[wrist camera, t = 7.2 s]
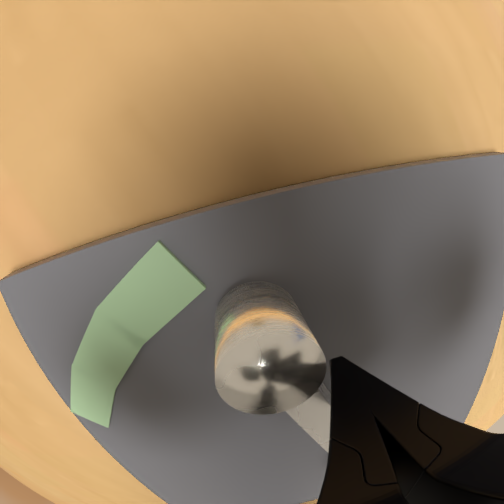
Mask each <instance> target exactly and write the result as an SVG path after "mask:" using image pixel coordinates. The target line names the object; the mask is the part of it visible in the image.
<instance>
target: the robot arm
mask: <svg viewBox="0 0 504 504" xmlns="http://www.w3.org/2000/svg"><path fill="white" fill-rule="evenodd" d="M329 364H330V377H331V408H330V437H329V439H330V440H329V451H328V460H327V467H326V472H325V476H324V480H323V484H322V487H321V491H320V494H319V498H318V501H317V504H504V434H497V433H490V432H486V431H483V430H480V429H478V428H475V427H472V426H469V425H467V424H464V423H461V422H459V421H456V420H454V419H451V418H449V417H447V416H444V415H442V414H440V413H438V412H436V411H434V410H432V409H430V408H428V407H427V406H425V405H423V404H421V403H420V404H419V402H418V401H416V400H414V399H413V398H411V397H409V396H407V395H406V394H404V393H402V392H401V391H399V390H397V389H395V388H394V387H392V386H390V385H389V384H387V383H385V382H384V381H382V380H380V379H379V378H377V377H375V376H374V375H372V374H371V373H369V372H367V371H366V370H364V369H362V368H361V367H359V366H357V365H356V364H354V363H353V362H351V361H349V360H348V359H346V358H345V357H343V356H339V357H335V358H332V359H330V361H329Z"/></svg>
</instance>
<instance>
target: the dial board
mask: <svg viewBox="0 0 504 504" xmlns="http://www.w3.org/2000/svg"><path fill="white" fill-rule="evenodd" d="M250 282H268V283H272V284H275V285H278V286H280V287H281V288H283V289H284V290H286V291H287V292H288V293H289V294H290V295H291V297H292V298H293V300H294V301H295V303H296V305H297V307H298V309H299V310H300V312H301V314H302V316H303V317H304V319H305V321H306V323H307V325H308V326H309V328H310V330H311V332H312V334H313V335H314V337H315V339H316V341H317V342H318V344H319V346H320V348H321V350H322V352H323V354H324V356H325V359H326V365H327V368H326V374H325V378H324V380H323V383H324V385H325V386H326V388H327V389H328V391H329V392H330V393H331V377H330V364H329V361H330V359H332V358H335V357H339V356H343V357H345V358H346V359H348V360H349V361H351V362H353V363H354V364H356V365H357V366H359V367H361V368H362V369H364V370H366V371H367V372H369V373H371V374H372V375H374V376H375V377H377V378H379V379H380V380H382V381H384V382H385V383H387V384H389V385H390V386H392V387H394V388H395V389H397V390H399V391H401V392H402V393H404V394H406V395H407V396H409V397H411V398H413V399H414V400H416V401H418V402H419V404H420V403H421V404H423V405H425V406H427V407H428V408H430V409H432V410H434V411H436V412H438V413H440V414H442V415H444V416H447V417H449V418H451V419H454V420H456V421H459V422H461V423H464V422H465V420H466V418H467V416H468V414H469V411H470V409H471V407H472V405H473V403H474V400H475V398H476V396H477V393H478V391H479V388H480V386H481V383H482V381H483V378H484V376H485V373H486V370H487V367H488V364H489V361H490V358H491V355H492V352H493V349H494V346H495V342H496V339H497V335H498V332H499V328H500V324H501V320H502V315H503V311H504V153H500V152H492V153H481V154H472V155H463V156H455V157H447V158H439V159H432V160H425V161H418V162H411V163H405V164H399V165H392V166H386V167H381V168H375V169H369V170H364V171H358V172H353V173H348V174H343V175H338V176H333V177H328V178H323V179H318V180H314V181H309V182H304V183H300V184H295V185H291V186H286V187H282V188H278V189H274V190H269V191H265V192H261V193H257V194H253V195H249V196H245V197H241V198H237V199H233V200H229V201H226V202H222V203H218V204H214V205H211V206H207V207H203V208H200V209H196V210H193V211H189V212H186V213H182V214H179V215H175V216H172V217H168V218H165V219H162V220H158V221H155V222H152V223H149V224H145V225H142V226H139V227H136V228H133V229H130V230H126V231H123V232H120V233H117V234H114V235H111V236H108V237H105V238H102V239H99V240H96V241H94V242H91V243H88V244H85V245H82V246H79V247H76V248H74V249H71V250H68V251H65V252H63V253H60V254H57V255H55V256H52V257H49V258H47V259H44V260H42V261H39V262H36V263H34V264H31V265H29V266H26V267H24V268H21V269H19V270H17V271H14V272H12V273H10V274H9V275H7V276H6V277H4V278H3V279H1V280H0V291H1V293H2V296H3V298H4V300H5V302H6V305H7V307H8V309H9V311H10V313H11V315H12V317H13V320H14V322H15V324H16V326H17V327H18V329H19V331H20V333H21V335H22V337H23V339H24V341H25V342H26V344H27V346H28V348H29V349H30V351H31V353H32V355H33V356H34V358H35V360H36V361H37V363H38V364H39V366H40V368H41V369H42V371H43V372H44V374H45V375H46V377H47V378H48V380H49V381H50V383H51V384H52V386H53V387H54V388H55V390H56V391H57V393H58V394H59V395H60V397H61V398H62V399H63V401H64V402H65V403H66V405H67V406H68V407H69V408H70V410H71V412H73V414H74V415H75V416H76V417H77V418H78V420H79V421H80V422H81V423H82V424H83V426H84V427H85V428H86V429H87V430H88V431H89V432H90V434H91V435H92V436H93V437H94V438H95V439H96V440H97V441H98V442H99V443H100V444H101V445H102V446H103V447H104V449H105V450H106V451H107V452H108V453H109V454H110V455H111V456H112V457H113V458H114V459H115V460H117V461H118V462H119V463H120V464H121V465H122V466H123V467H124V468H125V469H126V470H127V471H128V472H129V473H131V474H132V475H133V476H134V477H135V478H136V479H137V480H139V481H140V482H141V483H142V484H143V485H145V486H146V487H147V488H148V489H150V490H151V491H152V492H153V493H155V494H156V495H157V496H158V497H160V498H161V499H162V500H164V501H165V502H166V503H168V504H300V503H304V502H308V501H311V500H315V499H318V498H319V494H320V491H321V487H322V484H323V480H324V476H325V472H326V467H327V460H328V452H327V451H326V450H324V449H323V448H322V447H321V446H320V445H319V444H318V443H317V442H316V441H315V440H314V439H313V438H312V437H311V436H310V435H309V434H308V433H307V432H306V431H305V430H304V429H303V428H302V427H301V426H300V425H299V424H297V423H296V422H295V420H294V419H293V418H292V417H291V416H290V415H289V414H288V413H287V412H286V411H284V412H280V413H275V414H267V415H257V414H250V413H245V412H242V411H239V410H237V409H235V408H233V407H231V406H230V405H228V404H227V403H226V402H225V401H224V400H223V399H222V398H221V397H220V395H219V394H218V391H217V389H216V385H215V313H216V310H217V307H218V305H219V303H220V302H221V300H222V299H223V298H224V296H225V295H226V294H227V293H229V292H230V291H231V290H233V289H234V288H236V287H238V286H240V285H243V284H246V283H250Z"/></svg>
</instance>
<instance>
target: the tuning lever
mask: <svg viewBox="0 0 504 504" xmlns="http://www.w3.org/2000/svg"><path fill="white" fill-rule="evenodd" d="M326 368H327V365H326V359H325V356H324V354H323V352H322V350H321V348H320V346H319V344H318V342H317V341H316V339H315V337H314V335H313V334H312V332H311V330H310V328H309V326H308V325H307V323H306V321H305V319H304V317H303V316H302V314H301V312H300V310H299V309H298V307H297V305H296V303H295V301H294V300H293V298H292V297H291V295H290V294H289V293H288V292H287V291H286V290H284V289H283V288H281V287H280V286H278V285H275V284H272V283H268V282H250V283H246V284H243V285H240V286H238V287H236V288H234V289H233V290H231V291H230V292H229V293H227V294H226V295H225V296H224V298H223V299H222V300H221V302H220V303H219V305H218V307H217V310H216V313H215V385H216V389H217V391H218V394H219V395H220V397H221V398H222V399H223V400H224V401H225V402H226V403H227V404H228V405H230V406H231V407H233V408H235V409H237V410H239V411H242V412H245V413H250V414H257V415H267V414H275V413H280V412H284V411H286V412H287V413H288V414H289V415H290V416H291V417H292V418H293V419H294V420H295V422H296V423H297V424H299V425H300V426H301V427H302V428H303V429H304V430H305V431H306V432H307V433H308V434H309V435H310V436H311V437H312V438H313V439H314V440H315V441H316V442H317V443H318V444H319V445H320V446H321V447H322V448H323V449H324V450H326V451H327V452H328V451H329V440H330V439H329V437H330V408H331V393H330V392H329V391H328V389H327V388H326V386H325V385H324V383H323V380H324V378H325V374H326Z"/></svg>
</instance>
